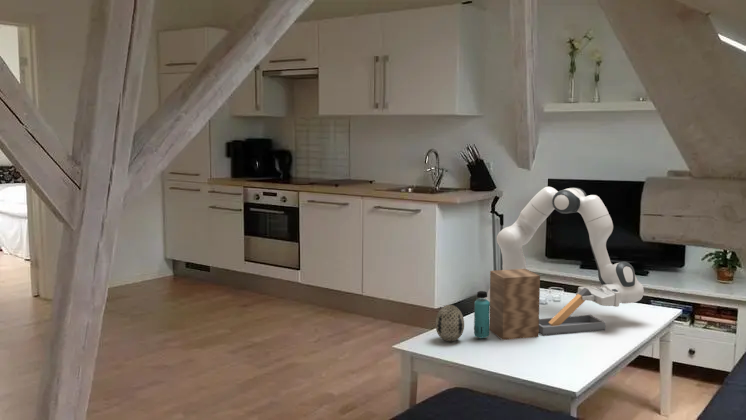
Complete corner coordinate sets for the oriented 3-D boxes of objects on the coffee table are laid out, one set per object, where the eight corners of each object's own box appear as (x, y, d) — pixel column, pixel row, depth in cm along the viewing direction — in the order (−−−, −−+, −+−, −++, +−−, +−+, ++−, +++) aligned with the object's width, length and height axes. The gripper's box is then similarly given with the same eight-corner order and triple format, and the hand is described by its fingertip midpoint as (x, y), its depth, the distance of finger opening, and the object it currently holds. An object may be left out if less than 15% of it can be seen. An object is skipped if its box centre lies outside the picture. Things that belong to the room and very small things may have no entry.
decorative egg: (429, 340, 290) (429, 304, 288) (449, 334, 298) (449, 299, 296) (450, 347, 281) (450, 310, 279) (470, 341, 289) (470, 305, 287)
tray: (590, 322, 313) (590, 314, 313) (605, 330, 302) (605, 322, 301) (530, 327, 307) (530, 319, 306) (542, 335, 295) (543, 327, 295)
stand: (523, 327, 307) (525, 268, 304) (538, 336, 294) (540, 275, 290) (489, 329, 303) (490, 270, 300) (502, 340, 290) (503, 278, 286)
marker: (588, 292, 306) (584, 287, 305) (592, 294, 303) (588, 289, 302) (552, 327, 304) (548, 322, 303) (555, 329, 301) (551, 324, 300)
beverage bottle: (489, 336, 295) (489, 289, 292) (490, 341, 288) (490, 293, 285) (473, 336, 295) (473, 289, 293) (473, 341, 289) (474, 293, 286)
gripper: (595, 282, 316) (567, 284, 313) (621, 293, 297) (592, 295, 293) (594, 295, 317) (566, 297, 314) (621, 307, 297) (591, 310, 294)
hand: (579, 296), depth 303 cm, fingers closed on marker, 3 cm apart
